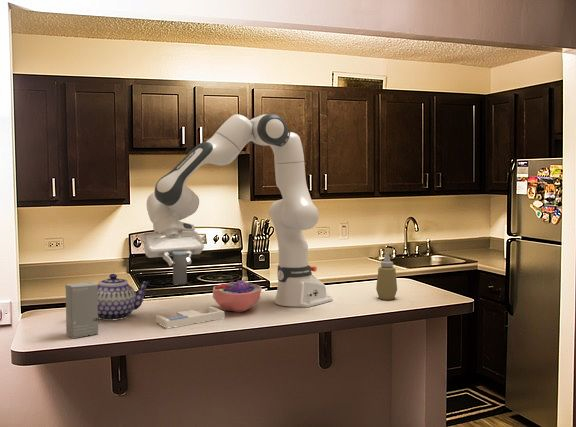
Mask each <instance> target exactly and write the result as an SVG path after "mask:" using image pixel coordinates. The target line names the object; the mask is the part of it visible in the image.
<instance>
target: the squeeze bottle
mask: <svg viewBox="0 0 576 427" xmlns="http://www.w3.org/2000/svg"><path fill="white" fill-rule="evenodd" d="M397 281H398V280H397V270H396V268H395V267H394V261H391V259H390V252H385V253H384V258H383V260H382V261H380V266H379V267H378V269H377V278H376V288H375V290H376V293H377V296H378V298H379V299H380V300H385V301H390V300H394V299H395V297H396V294H397V291H398V284H397Z"/></svg>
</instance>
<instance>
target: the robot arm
mask: <svg viewBox="0 0 576 427" xmlns="http://www.w3.org/2000/svg"><path fill="white" fill-rule="evenodd" d="M249 143H251V144H253V145H255V146H262V147H263V146H265V147H266V146H267V147H268V146H269V147H270V148H271V150H272V152H273V155H274V158H273V159H274V161H273V162H274V173H275V174H274V175H275V185H276V187H277V188H278V189H279V191H280V194H281V197H282V199H278V200H276V201H275V200H274V202H273V203H271V205H270V206H269V209H268V215H269V219H270V221H271V222H272V224H273V228H274V230H275V231H274V232H275V236H276V240H277V246H278V265H277V280H278V282H277V290H276V294H275V295H276V296H275V300H274V303H275V304H276V305H279V306H283V307H299V308H300V307H301V308H310V307H313V306H318V305H321V304H325V303H328V302H333V298H332V296H330V295H328V294H327V289H326V285H325V283H323V282H322V281H321V280H320V279H318V278H317V277H316V276H315V275H313V272H317V269H318V268H317V266H314V265H309V249H308V248H309V245H308V242H307V241H306V239H305V237H304V233H303V231H305V230H311V229H312V228H314V227H315V226H316V225H317V224H318V222H319V219H320V212H319V209H318V208H317V206H316V205H315V203H314V202H313V200H312V197H311V194H310V192H309V189H308V184H307V179H306V168H305V167H306V166H305V154H304V148H303V144H302V141H301V138H300V136H299V134H297V133H296V132H292V131H290V129H289V128H288V126H287V123H286V122H285V120H284V119H283V118H282V117H281V115H278V114H275V113H268V114H267V113H265V114H260V115H258V116H255V117H252V118H250V119H249V118H247V117H246V116H245V115H242V114H239V113H236V114H233V115H231V116H230V117H229V118H228V119H226V121H224V122H223V123H222V124H221V126H220V127H219V128H218V129H217V131H215V133H214V134H213V135H212V136H211V137H210V138H209V139H208V140H206V141H202V142H200V143H198V144H197V145H196V146H194V148H192V150H190V151H189V152H188V153H187V154H186V155H185V156H183V158H182V159H181V160H180V161H179V162H178V163H177V164H176V165H175V166H174V167H173V168H172V169H171V170H170V171H169V172H168V173H166V174H164V175H163V176H162V177H160V178H159V179H158V180H157V182H156V184H155V186H154V191H153V192H152V193H150V194H149V195H148V197H147V199H146V211H147V214H148V217H149V220H150V222H151V223H152V224H153V225H152V226H153V228H152V229H153V231H152V232H143V234H142V233H141V235H140V239H141V243H143V248H144V249H143V251H144V253H145V254H144V255H145V256H146V257H147V258H150V259H151V258H162V259H163V260H165V261H166V263H167V264H168V266H169V267H173V266H174V264H175V261H174V259H173V258H171V257H173V250H179V249H185V250H187V266H188V265H191V264H192V260H191V257H192V256H193V255H200V254H201V253H202V251H204V248H205V245H204V242H203V240H202V238H201V236H200V233H198V232H197V231H196V228H195V225H194V224H191V223H189V222H188V223H187V222H184V221H181V220H185V219H186V218H188V217H190V216H192V215H193V214H194V213H195V212H197V210H198V208H199V206H200V205H199V204H200V199H199V196H198V194H196V192H194V190H192V189H191V188H190V187H189V186H187V185H186V182H187V181H188V180H189V179H190V177H192V176H193V174H194V173H195V172H196V171H197V170H198V169H199V168H201V166H203V165H207V164H212V165H216V166H227V165H230V164H231V163H232V162H233V161H234V160H236V158H237V157H238V156H239V154H240V153H241V152H242V150H243V149H244V148H245V146H246V145H248V144H249Z"/></svg>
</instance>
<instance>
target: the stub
mask: <svg viewBox="0 0 576 427" xmlns="http://www.w3.org/2000/svg"><path fill="white" fill-rule="evenodd" d="M172 259H174V261H175V264H174V266H172V284H174V285H186V284H187V282H188V275H187V274H188V265H187V250H185V249H179V250H173V256H172Z"/></svg>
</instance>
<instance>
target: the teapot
mask: <svg viewBox="0 0 576 427" xmlns="http://www.w3.org/2000/svg"><path fill="white" fill-rule="evenodd" d="M108 277H109V278H106V279H103V280H100V281H98V282H97V293H98V319H99V318H100V320H101V319H103V320H102V321H114V320H113V319H120V320H122V319H121V318H124V319H126V318H128V317H129V316H130V315H131V314H132V312H133V311H135V310H138V309H139V308H141V306H142V304H143V301H144V297H145V290H146V287H147V286H148V285H149V284H150V283H151V282H149V281H142V282H141V284H140V285H139V287H138V290H135V289H134V288H133V287H132V285H130V284H129V282H128V280H127V279H124V278H117V277H118V275H117V274H116V273H111V274H109V276H108ZM127 316H128V317H127ZM125 317H126V318H125Z"/></svg>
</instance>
